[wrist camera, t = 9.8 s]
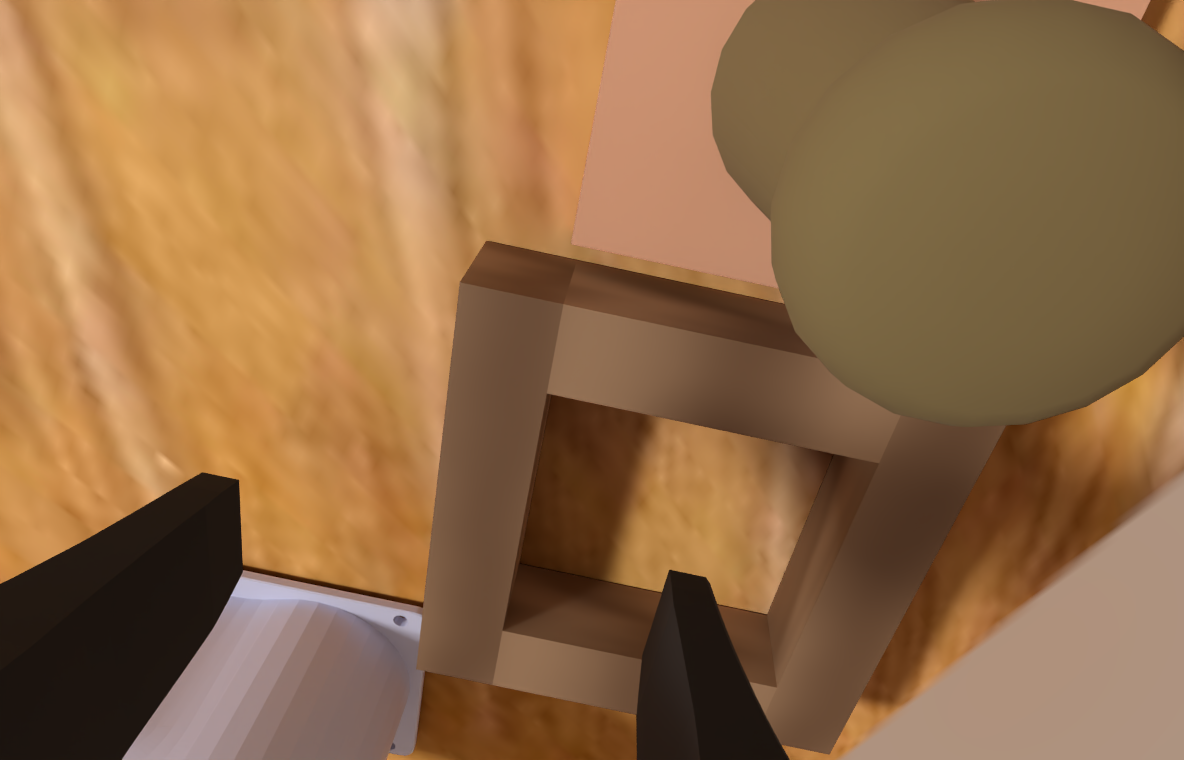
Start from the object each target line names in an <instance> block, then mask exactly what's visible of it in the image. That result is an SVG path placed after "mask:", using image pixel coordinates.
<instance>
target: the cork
mask: <svg viewBox="0 0 1184 760" xmlns="http://www.w3.org/2000/svg"><path fill="white" fill-rule="evenodd" d="M711 110H712V132H713V137H714V140H715V142H716V145H717V147H718V150H719V153H720V155H721V158H722V161H723V163H724V166H725V168H726V171H727V172H728V174H729V175H730V176H731V177H732V178H733V180H734V181H735V182H736V183H737V184H738V186H739V187H740V188H741V189H742V190H743V192H744V193H745V194H746V195H747V196H748V198H749V199H750V200H751V201H752V202H753V203H754V204H755V205H756V206H757V208H758V209H759V210H760V211H761V212H762V213H763V214H764V215H765V216H766V217H767V218H768V219H769V220H770V221H771V264H772V268H773V271H774V275H775V279H776V282H777V285H778V287H779V290H780V293H781V295H782V298H783V301H784V303H785V306H786V309H787V311H788V314H789V317H790V319H791V322H792V325H793V327H794V330H795V332H796V334H797V335H798V336H799V337H800V338H801V339H802V340H803V342H804V343H805V344H806V345H807V346H808V347H809V348H810V350H811V351H812V352H813V353H814V354H815V355H816V357H817V358H818V359H819V360H820V361H821V362H822V363H823V365H824V366H825V367H826V368H827V369H828V370H829V372H830V373H831V374H832V375H834V376H835V377H836V378H837V379H838V380H839V381H840V382H841V383H843V384H844V385H845V386H846V387H848V388H850V389H851V390H853V391H855V392H857V393H858V394H860V395H862V396H864V397H865V398H867V399H869V400H871V401H872V402H874V403H876V404H878V405H879V406H881V407H883V408H885V409H887V410H888V411H890V412H892V413H894V414H898V415H903V416H907V417H912V418H916V419H921V420H925V421H930V422H935V423H939V424H944V425H948V426H958V427H981V426H1001V425H1022V424H1029V423H1032V422H1036V421H1039V420H1042V419H1046V418H1049V417H1053V416H1056V415H1059V414H1063V413H1066V412H1069V411H1073V410H1076V409H1080V408H1083V407H1086V406H1088V405H1090V404H1091V403H1093V402H1095V401H1097V400H1099V399H1100V398H1102V397H1104V396H1106V395H1107V394H1109V393H1111V392H1113V391H1114V390H1116V389H1118V388H1120V387H1122V386H1123V385H1125V384H1127V383H1129V382H1130V381H1132V380H1134V379H1136V378H1137V377H1139V376H1141V375H1143V374H1144V373H1145V372H1146V371H1147V370H1148V369H1149V368H1150V367H1151V366H1152V365H1153V364H1155V363H1156V362H1157V361H1158V360H1159V359H1160V358H1161V357H1162V356H1163V355H1164V354H1165V353H1166V352H1168V351H1169V350H1170V349H1171V348H1172V347H1173V346H1174V345H1175V344H1176V343H1177V342H1178V341H1179V340H1181V339H1182V338H1183V337H1184V51H1183V50H1182V49H1180V48H1179V47H1178V46H1176V45H1175V44H1173V43H1172V42H1171V41H1169V40H1168V39H1166V38H1165V37H1164V36H1162V35H1161V34H1159V33H1158V32H1157V31H1155V30H1154V29H1152V28H1151V27H1150V26H1148V25H1147V24H1146V23H1144V22H1143V21H1141V20H1140V19H1139V18H1137V17H1136V16H1134V15H1133V14H1131V13H1127V12H1122V11H1118V10H1114V9H1109V8H1105V7H1100V6H1096V5H1092V4H1087V3H1083V2H1078V1H1074V0H988V1H980V2H975V1H973V0H755V1H754V2H753V3H752V4H751V5H750V6H749V7H748V8H747V9H746V10H745V12H744V13H743V15H742V17H741V18H740V20H739V22H738V23H737V25H736V27H735V28H734V30H733V32H732V33H731V35H730V37H729V38H728V40H727V42H726V43H725V45H724V47H723V48H722V51H721V55H720V59H719V62H718V66H717V70H716V74H715V78H714V82H713V86H712V90H711Z"/></svg>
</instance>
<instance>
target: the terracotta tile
mask: <svg viewBox="0 0 1184 760" xmlns="http://www.w3.org/2000/svg"><path fill="white" fill-rule="evenodd" d="M754 1H755V0H616V2H615V8H614V13H613V18H612V24H611V29H610V35H609V40H608V46H607V51H606V57H605V62H604V67H603V73H602V78H601V84H600V89H599V95H598V100H597V105H596V111H595V116H594V122H593V127H592V133H591V138H590V143H589V149H588V154H587V160H586V165H585V171H584V176H583V181H582V187H581V192H580V198H579V203H578V209H577V214H576V219H575V225H574V230H573V236H572V241H571V244H573V245H577V246H582V247H587V248H591V249H596V250H601V251H605V252H610V253H615V254H620V255H624V256H629V257H634V258H638V259H643V260H648V261H652V262H657V263H662V264H667V265H671V266H676V267H681V268H685V269H690V270H695V271H699V272H704V273H709V274H713V275H718V276H723V277H728V278H732V279H737V280H742V281H746V282H751V283H756V284H760V285H765V286H770V287H775V288H779V287H778V285H777V282H776V279H775V275H774V271H773V268H772V264H771V221H770V220H769V219H768V218H767V217H766V216H765V215H764V214H763V213H762V212H761V211H760V210H759V209H758V208H757V206H756V205H755V204H754V203H753V202H752V201H751V200H750V199H749V198H748V196H747V195H746V194H745V193H744V192H743V190H742V189H741V188H740V187H739V186H738V184H737V183H736V182H735V181H734V180H733V178H732V177H731V176H730V175H729V174H728V172H727V171H726V168H725V166H724V163H723V161H722V158H721V155H720V153H719V150H718V147H717V145H716V142H715V140H714V137H713V132H712V110H711V90H712V86H713V82H714V78H715V74H716V70H717V66H718V62H719V59H720V55H721V51H722V48H723V47H724V45H725V43H726V42H727V40H728V38H729V37H730V35H731V33H732V32H733V30H734V28H735V27H736V25H737V23H738V22H739V20H740V18H741V17H742V15H743V13H744V12H745V10H746V9H747V8H748V7H749V6H750V5H751V4H752V3H753V2H754ZM973 1H975V2H980V1H988V0H973ZM1074 1H1078V2H1083V3H1087V4H1092V5H1096V6H1100V7H1105V8H1109V9H1114V10H1118V11H1122V12H1127V13H1131V14H1133V15H1134V16H1136V17H1137V18H1139V19H1140V20H1141V19H1142V17H1143V15H1144V13H1145V11H1146V8H1147V6H1148V4H1149V2H1150V0H1074Z"/></svg>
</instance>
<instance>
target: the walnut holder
mask: <svg viewBox="0 0 1184 760" xmlns="http://www.w3.org/2000/svg"><path fill="white" fill-rule="evenodd" d="M551 395H557V396H561V397H566V398H571V399H576V400H580V401H585V402H590V403H595V404H599V405H604V406H609V407H614V408H618V409H623V410H628V411H633V412H637V413H642V414H647V415H652V416H656V417H661V418H666V419H671V420H675V421H680V422H685V423H690V424H694V425H699V426H704V427H709V428H713V429H718V430H723V431H728V432H732V433H737V434H742V435H747V436H751V437H756V438H761V439H766V440H770V441H775V442H780V443H785V444H789V445H794V446H799V447H804V448H808V449H813V450H818V451H822V452H827V453H832V454H834V456H833V458H832V461H831V463H830V465H829V468H828V470H827V473H826V475H825V477H824V480H823V482H822V485H821V487H820V489H819V492H818V494H817V497H816V499H815V501H814V504H813V506H812V509H811V511H810V513H809V516H808V518H807V521H806V523H805V525H804V528H803V530H802V533H801V535H800V537H799V540H798V542H797V545H796V547H795V549H794V552H793V554H792V557H791V559H790V561H789V564H788V566H787V569H786V571H785V573H784V576H783V578H782V581H781V583H780V585H779V588H778V590H777V593H776V595H775V597H774V600H773V602H772V605H771V607H770V609H769V612H768V614H767V615H764V614H759V613H754V612H749V611H744V610H740V609H735V608H730V607H725V606H720V605H718V608H719V611H720V614H721V616H722V619H723V621H724V624H725V627H726V629H727V632H728V634H729V637H730V639H731V641H732V644H733V646H734V649H735V651H736V653H737V656H738V658H739V660H740V663H741V665H742V667H743V669H744V671H745V673H746V676H747V678H748V680H749V682H750V684H751V686H752V689H753V691H754V693H755V695H756V697H757V699H758V701H759V703H760V705H761V707H762V709H763V711H764V713H765V715H766V717H767V719H768V721H769V723H770V725H771V727H772V729H773V730H774V732H775V734H776V736H777V738H778V740H779V742H780V744H781V745H786V746H790V747H795V748H800V749H805V750H810V751H815V752H820V753H824V754H830V752H831V751H832V749H833V747H834V745H835V743H836V741H837V739H838V738H839V736H840V734H841V732H842V730H843V728H844V726H845V724H846V723H847V721H848V719H849V717H850V715H851V713H852V711H853V710H854V708H855V706H856V704H857V702H858V700H859V698H860V697H861V695H862V693H863V691H864V689H865V687H866V685H867V684H868V682H869V680H870V678H871V676H872V674H873V672H874V671H875V669H876V667H877V665H878V663H879V661H880V659H881V657H882V656H883V654H884V652H885V650H886V648H887V646H888V644H889V643H890V641H891V639H892V637H893V635H894V633H895V631H896V630H897V628H898V626H899V624H900V622H901V620H902V618H903V617H904V615H905V613H906V611H907V609H908V607H909V605H910V604H911V602H912V600H913V598H914V596H915V594H916V592H917V590H918V589H919V587H920V585H921V583H922V581H923V579H924V577H925V576H926V574H927V572H928V570H929V568H930V566H931V564H932V563H933V561H934V559H935V557H936V555H937V553H938V551H939V550H940V548H941V546H942V544H943V542H944V540H945V538H946V537H947V535H948V533H949V531H950V529H951V527H952V525H953V524H954V522H955V520H956V518H957V516H958V514H959V512H960V510H961V509H962V507H963V505H964V503H965V501H966V499H967V497H968V496H969V494H970V492H971V490H972V488H973V486H974V484H975V483H976V481H977V479H978V477H979V475H980V473H981V471H982V470H983V468H984V466H985V464H986V462H987V460H988V458H989V457H990V455H991V453H992V451H993V449H994V447H995V445H996V443H997V442H998V440H999V438H1000V436H1001V434H1002V432H1003V430H1004V429H1005V427H1006V425H1001V426H981V427H958V426H948V425H944V424H939V423H935V422H930V421H925V420H921V419H916V418H912V417H907V416H903V415H898V414H894V413H892V412H890V411H888V410H887V409H885V408H883V407H881V406H879V405H878V404H876V403H874V402H872V401H871V400H869V399H867V398H865V397H864V396H862V395H860V394H858V393H857V392H855V391H853V390H851V389H850V388H848V387H846V386H845V385H844V384H843V383H841V382H840V381H839V380H838V379H837V378H836V377H835V376H834V375H832V374H831V373H830V372H829V370H828V369H827V368H826V367H825V366H824V365H823V363H822V362H821V361H820V360H819V359H818V358H817V357H816V355H815V354H814V353H813V352H812V351H811V350H810V348H809V347H808V346H807V345H806V344H805V343H804V342H803V340H802V339H801V338H800V337H799V336H798V335H797V334H796V332H795V330H794V327H793V325H792V322H791V319H790V317H789V314H788V311H787V309H786V306H785V304H781V303H776V302H771V301H767V300H762V299H757V298H752V297H748V296H743V295H738V294H734V293H729V292H724V291H720V290H715V289H710V288H705V287H701V286H696V285H691V284H687V283H682V282H677V281H673V280H668V279H663V278H658V277H654V276H649V275H644V274H640V273H635V272H630V271H626V270H621V269H616V268H611V267H607V266H602V265H597V264H593V263H588V262H583V261H579V260H574V259H569V258H564V257H560V256H555V255H550V254H546V253H541V252H536V251H532V250H527V249H522V248H517V247H513V246H508V245H503V244H499V243H494V242H489V241H486V242H485V244H484V245H483V247H482V249H481V250H480V252H479V253H478V255H477V256H476V258H475V260H474V261H473V263H472V264H471V266H470V267H469V269H468V271H467V272H466V274H465V275H464V277H463V278H462V280H461V281H460V286H459V295H458V304H457V313H456V322H455V330H454V339H453V348H452V357H451V366H450V375H449V383H448V392H447V401H446V410H445V419H444V427H443V436H442V445H441V454H440V463H439V472H438V480H437V489H436V498H435V507H434V516H433V524H432V533H431V542H430V551H429V560H428V569H427V577H426V586H425V595H424V604H423V613H422V622H421V630H420V639H419V648H418V657H417V666H416V669H417V670H422V671H427V672H432V673H437V674H441V675H446V676H451V677H456V678H461V679H466V680H470V681H475V682H480V683H485V684H490V685H495V686H500V687H504V688H509V689H514V690H519V691H524V692H529V693H533V694H538V695H543V696H548V697H553V698H558V699H563V700H567V701H572V702H577V703H582V704H587V705H592V706H597V707H601V708H606V709H611V710H616V711H621V712H626V713H630V714H635V715H636V714H637V703H638V692H639V682H640V672H641V663H642V654H643V651H644V648H645V645H646V642H647V639H648V635H649V632H650V629H651V626H652V623H653V620H654V617H655V613H656V610H657V607H658V604H659V601H660V598H661V595H662V593H658V592H653V591H648V590H643V589H639V588H634V587H629V586H624V585H619V584H615V583H610V582H605V581H600V580H595V579H591V578H586V577H581V576H576V575H571V574H567V573H562V572H557V571H552V570H547V569H543V568H538V567H533V566H528V565H523V564H519V563H520V558H521V553H522V547H523V542H524V537H525V532H526V526H527V521H528V516H529V511H530V505H531V500H532V495H533V490H534V484H535V479H536V474H537V469H538V463H539V458H540V453H541V448H542V442H543V437H544V432H545V426H546V421H547V416H548V411H549V405H550V400H551Z"/></svg>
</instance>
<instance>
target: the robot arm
mask: <svg viewBox="0 0 1184 760" xmlns="http://www.w3.org/2000/svg"><path fill="white" fill-rule="evenodd" d="M422 613H423V608H421V607H419V606H414V605H409V604H404V603H399V602H394V601H390V600H385V599H380V598H375V597H370V596H365V595H361V594H356V593H351V592H346V591H341V590H336V589H332V588H327V587H322V586H317V585H312V584H308V583H303V582H298V581H293V580H288V579H283V578H279V577H274V576H269V575H264V574H259V573H254V572H250V571H245V570H243V563H242V539H241V516H240V492H239V480H236V479H232V478H227V477H222V476H217V475H212V474H208V473H203V472H202V473H201V474H199V475H197V476H195V477H193V478H192V479H190V480H188V481H186V482H185V483H183V484H181V485H179V486H178V487H176V488H174V489H173V490H171V491H169V492H167V493H166V494H164V495H162V496H161V497H159V498H157V499H156V500H154V501H152V502H151V503H149V504H147V505H145V506H144V507H142V508H140V509H139V510H137V511H135V512H134V513H132V514H130V515H128V516H127V517H125V518H123V519H121V520H120V521H118V522H116V523H114V524H113V525H111V526H109V527H107V528H106V529H104V530H102V531H100V532H99V533H97V534H95V535H93V536H92V537H90V538H88V539H86V540H85V541H83V542H81V543H79V544H77V545H75V546H73V547H71V548H70V549H68V550H66V551H64V552H62V553H60V554H58V555H56V556H54V557H52V558H50V559H48V560H46V561H44V562H43V563H41V564H39V565H37V566H35V567H33V568H31V569H29V570H27V571H25V572H23V573H21V574H19V575H18V576H16V577H14V578H12V579H10V580H8V581H5V582H3V583H1V584H0V760H387V757H388V754H389V753H392V754H397V755H409V754H411V753H412V752H413V751H414V748H415V745H416V740H417V732H418V724H419V716H420V707H421V699H422V691H423V683H424V674H425V671H422V670H417V669H416V666H417V657H418V648H419V639H420V630H421V622H422ZM400 616H403V617H405V618H402V617H400ZM636 721H637V760H789V758H788V756H787V754H786V753H785V751H784V749H783V747H782V745H781V744H780V742H779V740H778V738H777V736H776V734H775V732H774V730H773V729H772V727H771V725H770V723H769V721H768V719H767V717H766V715H765V713H764V711H763V709H762V707H761V705H760V703H759V701H758V699H757V697H756V695H755V693H754V691H753V689H752V686H751V684H750V682H749V680H748V678H747V676H746V673H745V671H744V669H743V667H742V665H741V663H740V660H739V658H738V656H737V653H736V651H735V649H734V646H733V644H732V641H731V639H730V637H729V634H728V632H727V629H726V627H725V624H724V621H723V619H722V616H721V614H720V611H719V608H718V605H717V603H716V600H715V597H714V594H713V591H712V588H711V585H710V583H709V582H708V580H707V579H706V577H702V576H697V575H692V574H687V573H683V572H678V571H673V570H669V573H668V576H667V579H666V582H665V585H664V588H663V591H662V595H661V598H660V601H659V604H658V607H657V610H656V613H655V617H654V620H653V623H652V626H651V629H650V632H649V635H648V639H647V642H646V645H645V648H644V651H643V654H642V663H641V672H640V682H639V692H638V703H637V714H636Z"/></svg>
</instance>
